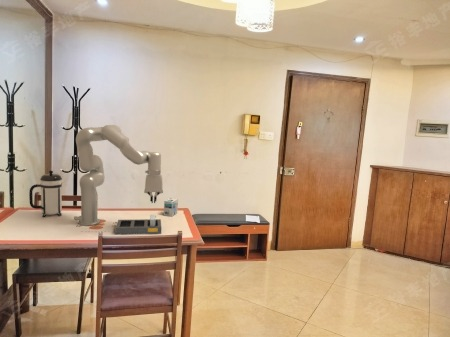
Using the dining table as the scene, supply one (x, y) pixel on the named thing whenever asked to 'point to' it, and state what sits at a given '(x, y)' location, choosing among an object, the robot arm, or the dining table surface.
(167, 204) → the light bulb box
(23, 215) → the dining table surface
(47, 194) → the coffee press
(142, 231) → the rack
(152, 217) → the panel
